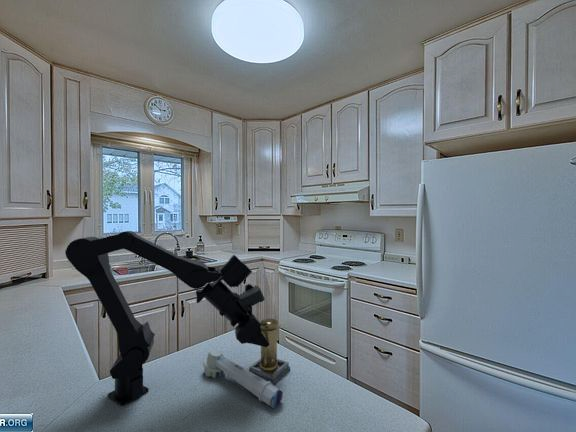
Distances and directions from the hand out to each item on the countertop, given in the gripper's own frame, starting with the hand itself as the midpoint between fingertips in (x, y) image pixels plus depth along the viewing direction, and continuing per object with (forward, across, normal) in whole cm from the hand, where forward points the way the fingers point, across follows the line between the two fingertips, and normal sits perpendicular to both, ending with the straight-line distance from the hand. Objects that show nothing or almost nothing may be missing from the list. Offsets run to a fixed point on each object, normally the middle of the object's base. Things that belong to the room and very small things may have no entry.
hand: (264, 338), depth 76 cm
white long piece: (+2, -4, +12) cm, 13 cm away
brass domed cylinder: (+7, 0, +5) cm, 9 cm away
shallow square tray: (+8, 0, +6) cm, 10 cm away
